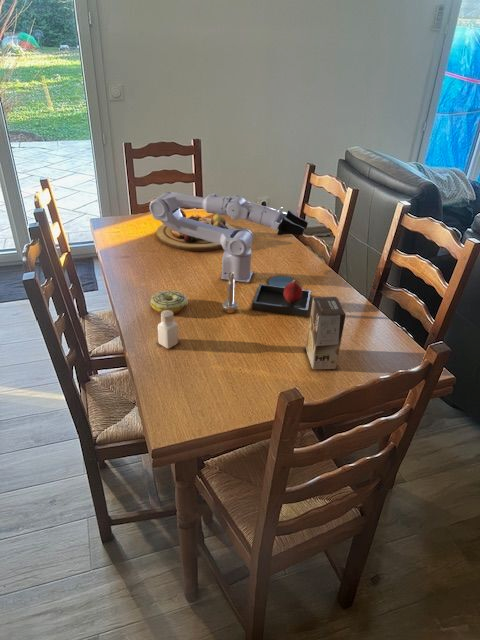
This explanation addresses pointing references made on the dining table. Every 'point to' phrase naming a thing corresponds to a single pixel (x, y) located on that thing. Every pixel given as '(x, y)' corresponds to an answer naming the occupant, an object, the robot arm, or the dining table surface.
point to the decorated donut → (168, 301)
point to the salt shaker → (167, 330)
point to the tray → (280, 301)
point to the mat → (280, 281)
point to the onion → (292, 292)
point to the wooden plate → (191, 242)
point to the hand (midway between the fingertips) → (305, 228)
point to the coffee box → (325, 332)
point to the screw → (230, 296)
